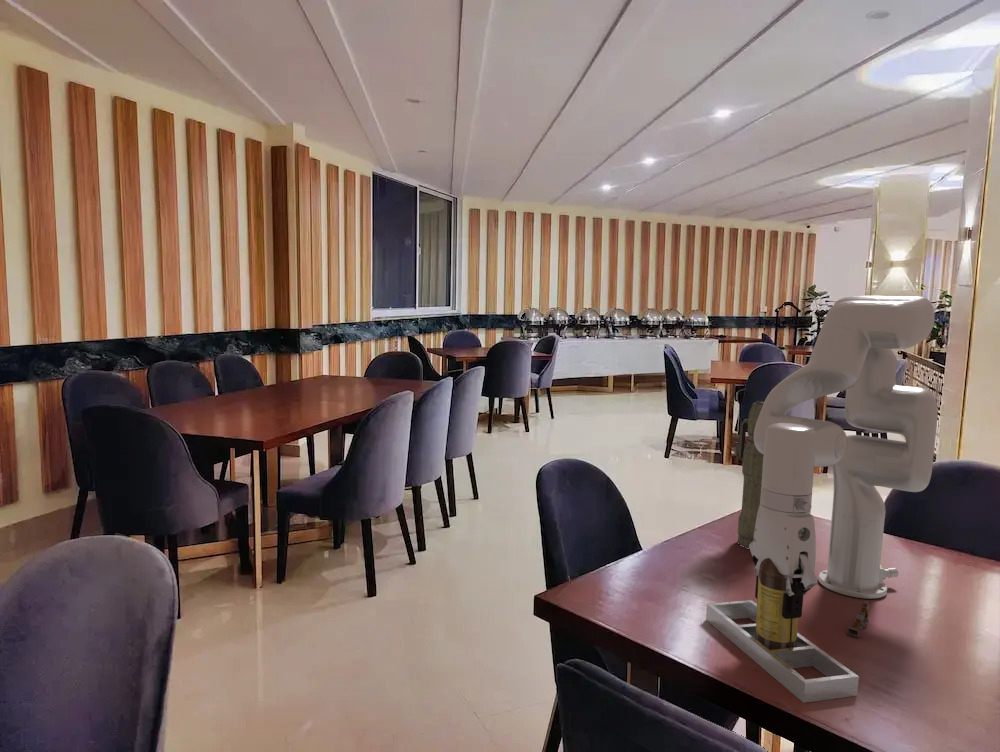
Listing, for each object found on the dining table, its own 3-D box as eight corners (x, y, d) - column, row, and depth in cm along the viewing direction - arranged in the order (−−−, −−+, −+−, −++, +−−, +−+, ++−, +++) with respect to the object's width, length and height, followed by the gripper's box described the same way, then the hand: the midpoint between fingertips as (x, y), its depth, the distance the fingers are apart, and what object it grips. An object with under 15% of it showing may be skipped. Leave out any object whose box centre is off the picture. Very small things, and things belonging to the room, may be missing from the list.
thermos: (775, 556, 153) (787, 407, 150) (725, 543, 161) (735, 401, 157) (787, 547, 160) (798, 403, 156) (739, 535, 167) (748, 398, 164)
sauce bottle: (777, 634, 113) (785, 520, 111) (804, 652, 107) (814, 532, 105) (745, 638, 111) (753, 523, 109) (771, 657, 105) (780, 536, 103)
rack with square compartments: (750, 615, 122) (751, 599, 122) (857, 695, 97) (858, 676, 97) (706, 619, 120) (707, 603, 120) (803, 702, 95) (805, 683, 95)
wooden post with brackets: (873, 618, 121) (872, 600, 119) (859, 649, 116) (858, 630, 114) (863, 615, 122) (861, 596, 121) (848, 645, 117) (846, 626, 116)
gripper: (845, 516, 99) (835, 631, 101) (771, 485, 116) (764, 584, 117) (802, 518, 97) (792, 635, 99) (733, 487, 114) (727, 587, 116)
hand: (777, 606), depth 108 cm, fingers closed on sauce bottle, 6 cm apart
